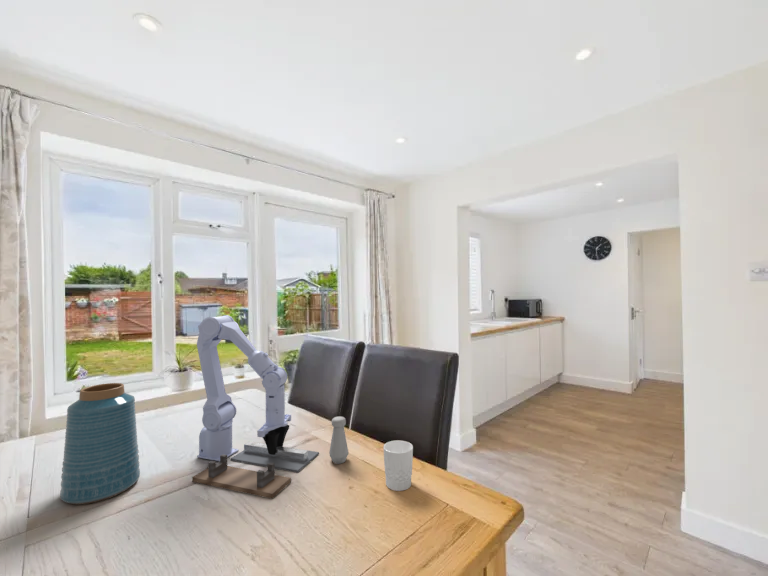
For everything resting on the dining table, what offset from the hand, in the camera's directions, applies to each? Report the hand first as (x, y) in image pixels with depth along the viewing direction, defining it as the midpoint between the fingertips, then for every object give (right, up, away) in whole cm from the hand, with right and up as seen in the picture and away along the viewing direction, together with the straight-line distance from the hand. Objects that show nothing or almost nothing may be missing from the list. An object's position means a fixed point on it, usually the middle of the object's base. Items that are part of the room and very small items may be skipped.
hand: (275, 451), depth 109 cm
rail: (0, -1, 0) cm, 1 cm away
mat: (0, -2, 0) cm, 2 cm away
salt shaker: (+20, -2, -3) cm, 20 cm away
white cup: (+38, -1, -16) cm, 41 cm away
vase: (-41, -2, -17) cm, 44 cm away
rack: (-5, -2, -14) cm, 15 cm away
